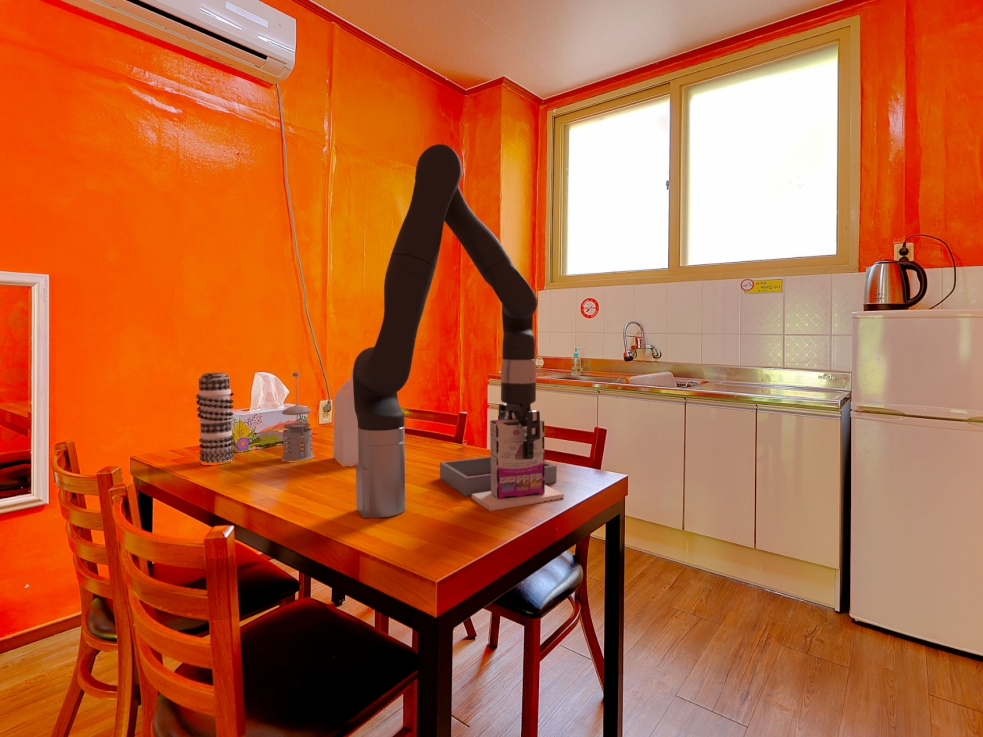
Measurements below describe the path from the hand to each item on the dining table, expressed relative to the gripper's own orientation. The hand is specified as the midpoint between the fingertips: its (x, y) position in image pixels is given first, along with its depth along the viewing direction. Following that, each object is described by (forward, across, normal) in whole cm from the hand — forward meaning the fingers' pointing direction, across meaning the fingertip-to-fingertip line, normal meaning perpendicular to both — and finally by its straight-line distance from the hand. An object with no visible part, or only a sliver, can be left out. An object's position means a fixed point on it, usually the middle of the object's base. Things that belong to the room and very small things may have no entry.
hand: (517, 454), depth 112 cm
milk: (+10, +50, +24) cm, 57 cm away
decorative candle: (+10, +65, +60) cm, 89 cm away
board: (+10, 0, 0) cm, 10 cm away
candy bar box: (+9, 0, 0) cm, 9 cm away
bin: (+10, +15, -3) cm, 18 cm away
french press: (+10, +60, +39) cm, 72 cm away
